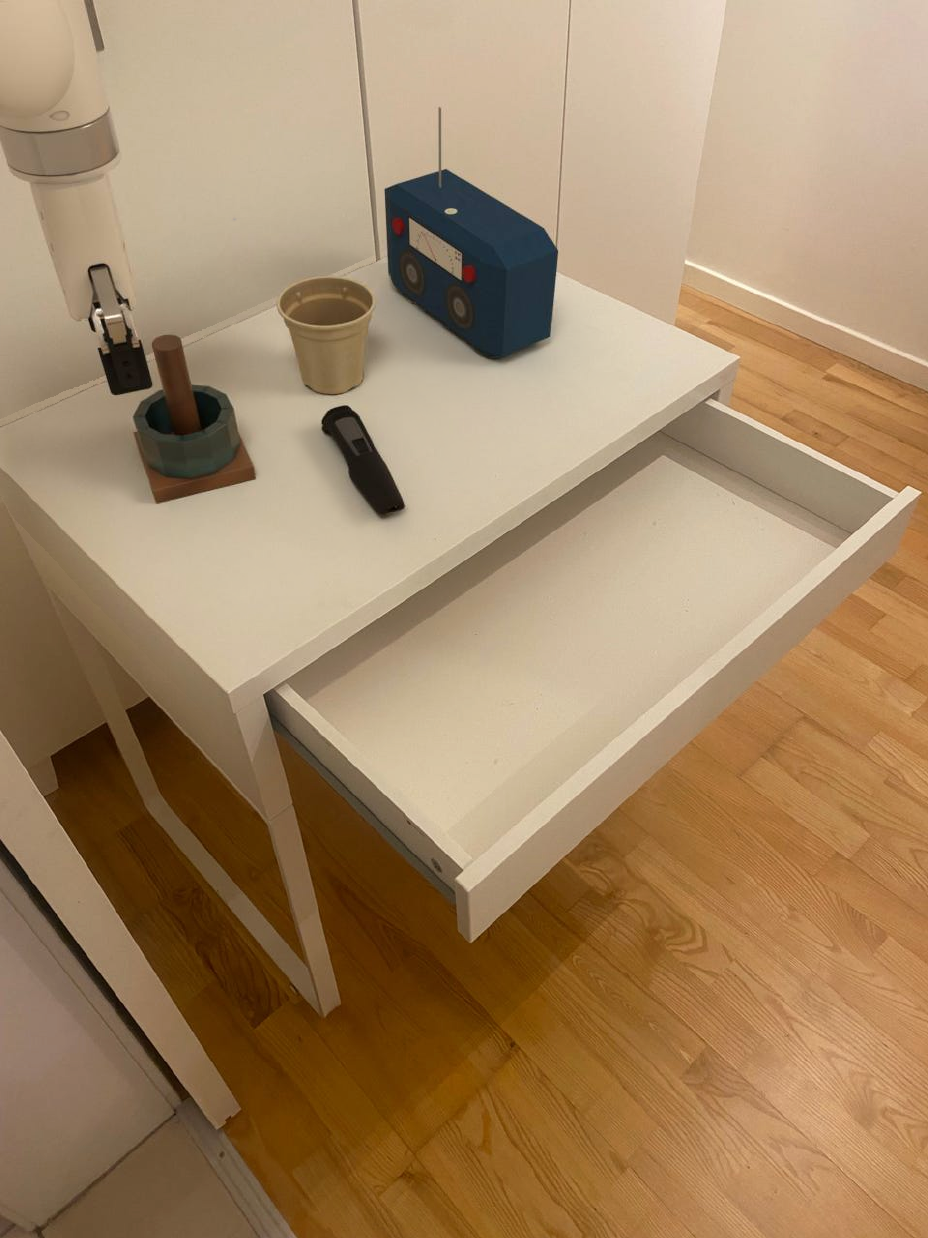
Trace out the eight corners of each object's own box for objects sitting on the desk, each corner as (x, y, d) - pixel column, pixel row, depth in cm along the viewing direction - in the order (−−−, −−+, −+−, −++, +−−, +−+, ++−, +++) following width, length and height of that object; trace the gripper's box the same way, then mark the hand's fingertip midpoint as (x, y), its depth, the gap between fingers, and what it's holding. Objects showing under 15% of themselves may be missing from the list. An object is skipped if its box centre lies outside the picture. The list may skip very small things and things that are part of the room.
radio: (378, 286, 110) (368, 99, 95) (440, 264, 113) (440, 81, 98) (491, 372, 99) (499, 176, 84) (555, 345, 102) (574, 152, 87)
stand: (156, 504, 84) (120, 383, 75) (136, 444, 90) (101, 325, 80) (256, 479, 87) (233, 359, 77) (231, 422, 92) (207, 304, 83)
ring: (156, 488, 83) (145, 451, 80) (135, 433, 88) (125, 397, 85) (250, 463, 86) (243, 427, 83) (225, 411, 91) (217, 375, 88)
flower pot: (362, 344, 102) (356, 267, 95) (393, 392, 96) (390, 314, 90) (276, 362, 99) (264, 285, 93) (303, 413, 93) (292, 335, 87)
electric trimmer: (374, 533, 83) (372, 505, 80) (318, 428, 92) (315, 401, 89) (414, 522, 84) (414, 494, 81) (355, 420, 93) (354, 392, 90)
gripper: (-11, 101, 70) (59, 314, 82) (16, 201, 59) (90, 428, 72) (95, 88, 72) (147, 297, 85) (139, 182, 61) (190, 406, 74)
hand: (121, 357), depth 78 cm, fingers open, 9 cm apart
